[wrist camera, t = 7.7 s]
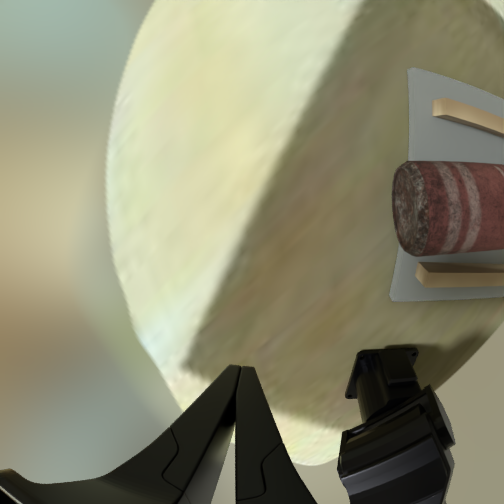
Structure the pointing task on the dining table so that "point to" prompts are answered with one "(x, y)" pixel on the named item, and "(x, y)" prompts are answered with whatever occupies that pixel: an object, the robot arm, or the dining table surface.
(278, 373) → the dining table surface
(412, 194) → the can
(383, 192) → the dining table surface
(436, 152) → the tray
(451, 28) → the dining table surface
